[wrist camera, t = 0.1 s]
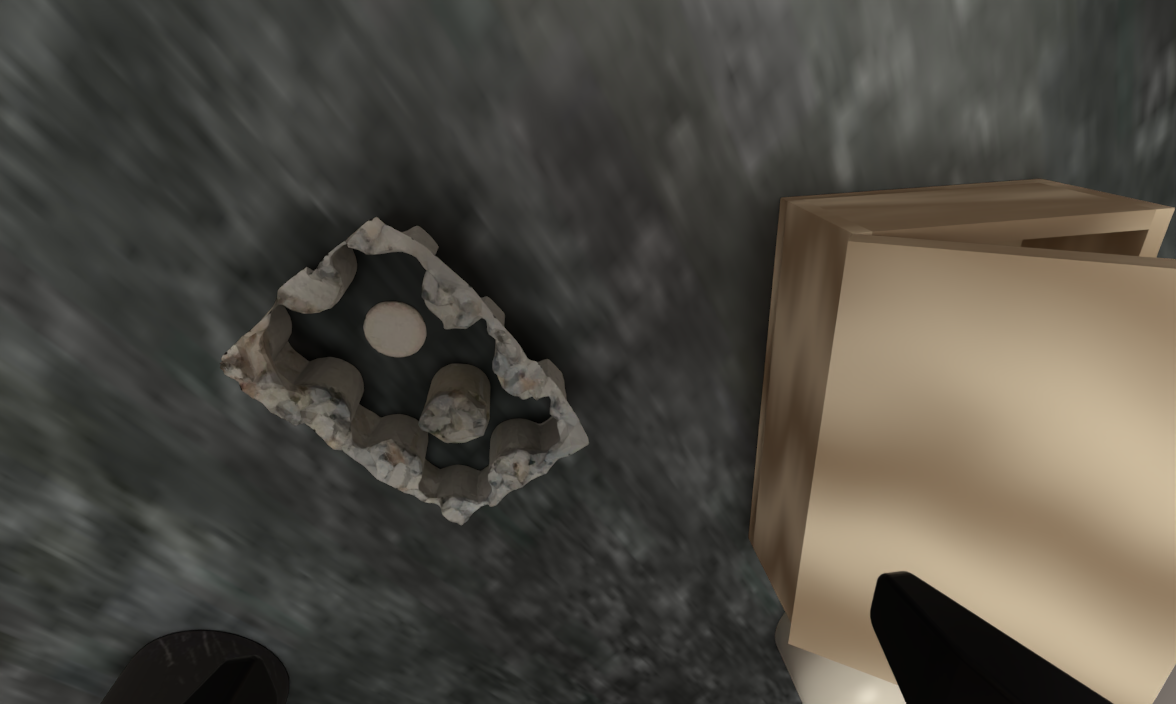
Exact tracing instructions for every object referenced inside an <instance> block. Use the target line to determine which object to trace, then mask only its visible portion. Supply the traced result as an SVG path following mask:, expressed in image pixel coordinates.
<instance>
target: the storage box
mask: <svg viewBox="0 0 1176 704" xmlns="http://www.w3.org/2000/svg"><path fill="white" fill-rule="evenodd" d="M1174 209H1175V208H1174V207H1169V206H1164V205H1160V204H1155V203H1151V202H1146V201H1141V200H1137V199H1132V198H1128V197H1123V196H1118V195H1114V194H1109V193H1105V192H1100V191H1095V190H1091V189H1086V188H1082V187H1077V186H1072V185H1068V184H1063V183H1059V182H1054V181H1049V180H1045V179H1029V180H1016V181H1002V182H988V183H974V184H961V185H947V186H933V187H920V188H906V189H892V190H878V191H865V192H851V193H837V194H824V195H810V196H796V197H782V198H781V199H780V210H779V220H778V231H777V242H776V252H775V263H774V273H773V284H772V294H771V305H770V315H769V326H768V336H767V347H766V358H765V368H764V379H763V389H762V400H761V410H760V421H759V431H758V442H757V452H756V463H755V474H754V484H753V495H752V505H751V516H750V526H749V537H748V538H749V540H750V542H751V544H752V546H753V548H754V550H755V552H756V554H757V556H758V558H759V560H760V562H761V564H762V566H763V568H764V570H765V572H766V574H767V576H768V578H769V580H770V582H771V584H772V586H773V588H774V590H775V592H776V594H777V596H778V598H779V600H780V602H781V604H782V606H783V608H784V610H785V612H786V614H787V616H788V618H789V620H790V622H792V615H793V608H794V602H795V595H796V588H797V581H798V575H799V568H800V561H801V555H802V548H803V541H804V534H805V528H806V521H807V514H808V507H809V501H810V494H811V487H812V481H813V474H814V467H815V460H816V454H817V447H818V440H819V434H820V427H821V420H822V413H823V407H824V400H825V393H826V387H827V380H828V373H829V366H830V360H831V353H832V346H833V340H834V333H835V326H836V319H837V313H838V306H839V299H840V293H841V286H842V279H843V272H844V266H845V259H846V252H847V245H848V240H849V239H850V237H851V235H852V234H862V235H874V236H887V237H900V238H913V239H925V240H938V241H951V242H963V243H976V244H989V245H1002V246H1014V247H1027V248H1040V249H1052V250H1065V251H1078V252H1091V253H1103V254H1116V255H1129V256H1141V257H1154V258H1156V256H1157V253H1158V251H1159V248H1160V246H1161V243H1162V240H1163V238H1164V235H1165V233H1166V230H1167V227H1168V225H1169V222H1170V220H1171V217H1172V215H1173V212H1174Z"/></svg>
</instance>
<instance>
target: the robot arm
mask: <svg viewBox="0 0 1176 704" xmlns="http://www.w3.org/2000/svg"><path fill="white" fill-rule="evenodd" d="M870 619H871V624H872V627H873V629H874V632H875V634H876V636H877V639H878V641H879V643H880V645H881V648H882V650H883V652H884V654H885V657H886V659H887V661H888V664H889V666H890V668H891V670H892V673H893V675H894V677H895V679H896V682H897V684H898V686H899V689H900V691H901V693H902V695H903V698H904V700H905V702H906V704H1114V703H1112V702H1111V701H1109V700H1108V699H1106V698H1104V697H1103V696H1101V695H1100V694H1098V693H1097V692H1095V691H1094V690H1092V689H1090V688H1089V687H1087V686H1086V685H1084V684H1083V683H1081V682H1080V681H1078V680H1077V679H1075V678H1073V677H1072V676H1070V675H1069V674H1067V673H1066V672H1064V671H1063V670H1061V669H1059V668H1058V667H1056V666H1055V665H1053V664H1052V663H1050V662H1049V661H1047V660H1046V659H1044V658H1042V657H1041V656H1039V655H1038V654H1036V653H1035V652H1033V651H1032V650H1030V649H1028V648H1027V647H1025V646H1024V645H1022V644H1021V643H1019V642H1018V641H1016V640H1015V639H1013V638H1011V637H1010V636H1008V635H1007V634H1005V633H1004V632H1002V631H1001V630H999V629H997V628H996V627H994V626H993V625H991V624H990V623H988V622H987V621H985V620H984V619H982V618H980V617H979V616H977V615H976V614H974V613H973V612H971V611H970V610H968V609H966V608H965V607H963V606H962V605H960V604H959V603H957V602H956V601H954V600H953V599H951V598H949V597H948V596H946V595H945V594H943V593H942V592H940V591H939V590H937V589H935V588H934V587H932V586H931V585H929V584H928V583H926V582H925V581H923V580H922V579H920V578H918V577H917V576H915V575H914V574H912V573H910V572H907V571H897V572H889V573H883V574H881V575H880V576H879V577H878V579H877V582H876V586H875V591H874V595H873V600H872V604H871V608H870ZM182 704H278V698H277V692H276V689H275V686H274V684H273V682H272V679H271V677H270V675H269V672H268V670H267V668H266V665H265V663H264V661H263V659H262V658H261V657H260V656H258V655H249V656H242V657H234V658H230V659H228V660H226V661H225V662H223V663H222V664H221V665H220V666H219V667H218V668H217V669H216V670H215V671H214V672H213V673H212V674H211V675H210V676H209V677H208V678H207V679H206V680H205V681H204V682H203V683H202V684H201V685H200V686H199V687H198V688H197V689H196V690H195V691H194V692H193V693H192V694H191V695H190V696H189V697H188V698H187V699H186V700H185V701H184V702H183V703H182Z"/></svg>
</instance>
